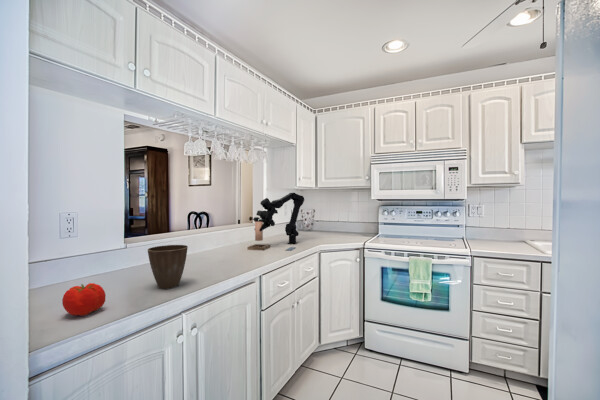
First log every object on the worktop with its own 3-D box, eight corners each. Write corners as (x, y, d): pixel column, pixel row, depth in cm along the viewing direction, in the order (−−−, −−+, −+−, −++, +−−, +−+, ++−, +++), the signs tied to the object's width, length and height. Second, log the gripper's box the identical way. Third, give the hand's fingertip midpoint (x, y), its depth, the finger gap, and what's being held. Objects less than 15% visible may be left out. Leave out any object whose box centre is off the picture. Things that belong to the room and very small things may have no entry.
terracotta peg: (257, 239, 198) (257, 221, 198) (263, 239, 197) (263, 221, 197) (254, 240, 193) (253, 222, 193) (260, 240, 192) (260, 222, 192)
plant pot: (139, 289, 110) (138, 249, 110) (170, 279, 124) (170, 243, 124) (166, 294, 104) (165, 252, 104) (195, 283, 118) (195, 245, 118)
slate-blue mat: (281, 247, 203) (281, 246, 203) (295, 248, 200) (295, 247, 200) (275, 250, 192) (275, 249, 192) (290, 250, 189) (290, 250, 189)
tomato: (57, 323, 81) (57, 293, 81) (70, 309, 91) (69, 283, 91) (101, 316, 85) (101, 288, 85) (108, 304, 95) (108, 278, 95)
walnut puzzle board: (255, 247, 203) (255, 244, 203) (270, 248, 199) (270, 244, 199) (247, 250, 191) (247, 246, 191) (263, 251, 188) (263, 247, 188)
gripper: (255, 206, 204) (242, 222, 196) (271, 206, 191) (259, 223, 184) (263, 216, 210) (251, 232, 202) (280, 217, 197) (268, 234, 189)
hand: (257, 230), depth 194 cm, fingers closed on terracotta peg, 5 cm apart
